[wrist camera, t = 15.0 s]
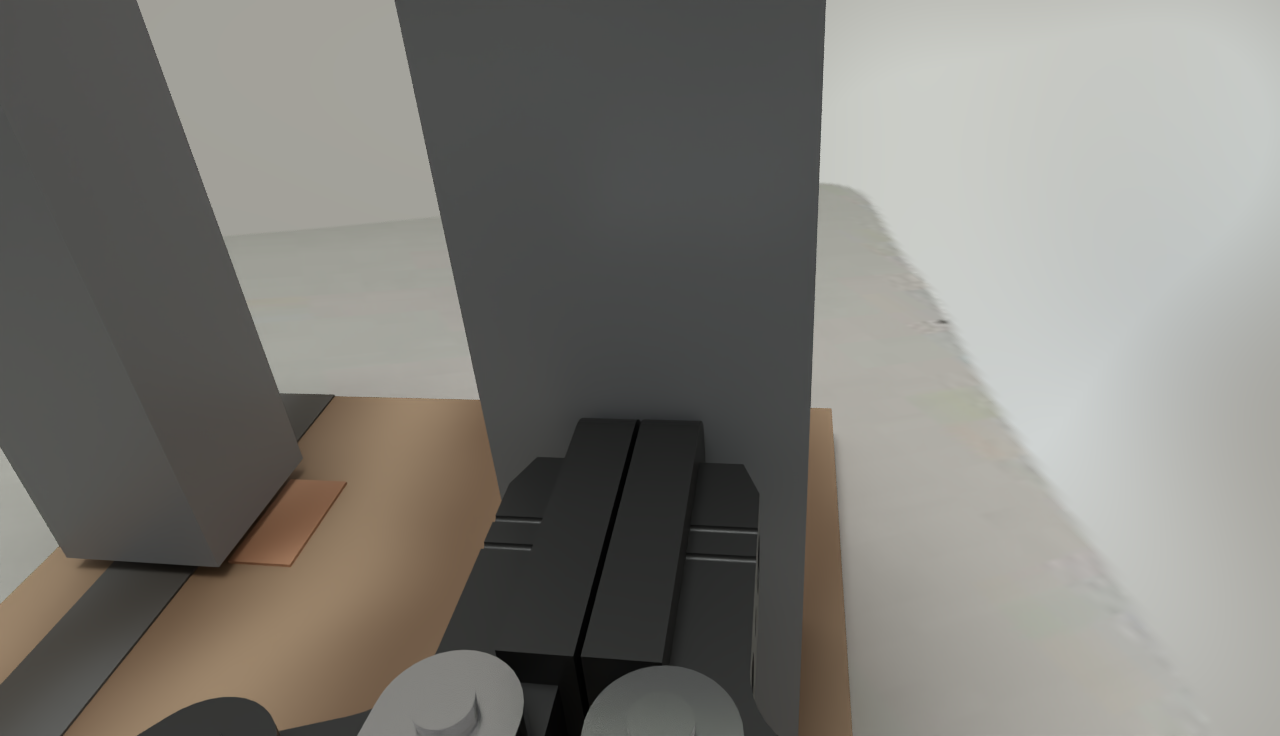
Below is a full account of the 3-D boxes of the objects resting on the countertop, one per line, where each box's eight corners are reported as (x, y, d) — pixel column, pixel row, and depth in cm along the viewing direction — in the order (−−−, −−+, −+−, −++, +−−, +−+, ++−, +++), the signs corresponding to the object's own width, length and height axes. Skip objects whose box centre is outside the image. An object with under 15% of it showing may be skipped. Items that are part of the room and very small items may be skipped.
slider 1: (39, 568, 20) (-502, -291, 11) (166, 443, 24) (-164, -262, 15) (224, 581, 19) (-208, -336, 11) (323, 449, 23) (68, -292, 15)
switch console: (-562, 1243, 11) (-631, 1217, 11) (225, 419, 27) (213, 391, 27) (899, 1616, 8) (908, 1607, 8) (829, 437, 24) (831, 406, 23)
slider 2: (530, 788, 14) (191, -573, 6) (588, 577, 18) (437, -412, 10) (821, 819, 13) (924, -712, 5) (815, 591, 17) (865, -474, 9)
